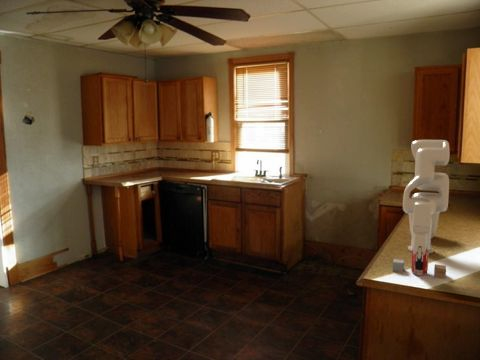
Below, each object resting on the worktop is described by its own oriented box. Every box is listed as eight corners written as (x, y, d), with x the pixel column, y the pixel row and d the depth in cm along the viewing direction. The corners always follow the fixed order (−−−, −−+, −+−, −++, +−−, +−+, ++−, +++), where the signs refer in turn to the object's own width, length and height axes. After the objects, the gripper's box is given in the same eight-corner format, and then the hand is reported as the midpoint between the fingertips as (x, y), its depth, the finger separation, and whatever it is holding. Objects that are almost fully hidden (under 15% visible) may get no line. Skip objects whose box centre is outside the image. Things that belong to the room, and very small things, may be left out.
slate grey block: (393, 268, 192) (393, 258, 191) (403, 269, 190) (404, 260, 189) (392, 271, 188) (392, 261, 187) (403, 272, 186) (403, 263, 185)
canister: (404, 238, 239) (406, 203, 236) (407, 231, 255) (409, 198, 252) (438, 242, 231) (440, 206, 228) (439, 234, 247) (441, 200, 244)
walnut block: (434, 273, 184) (434, 264, 184) (445, 275, 182) (446, 265, 182) (433, 277, 180) (434, 267, 180) (445, 278, 178) (446, 268, 178)
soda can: (422, 270, 189) (424, 245, 187) (430, 275, 182) (431, 250, 180) (408, 270, 188) (409, 245, 187) (415, 276, 181) (416, 250, 180)
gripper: (413, 223, 192) (411, 259, 194) (411, 232, 176) (409, 271, 179) (431, 225, 188) (429, 262, 191) (430, 234, 173) (427, 274, 175)
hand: (419, 266), depth 185 cm, fingers closed on soda can, 7 cm apart
